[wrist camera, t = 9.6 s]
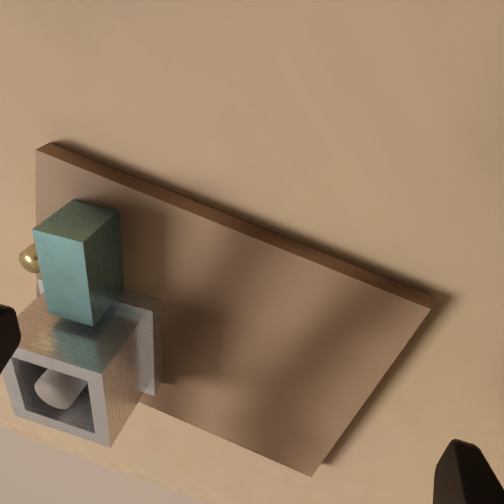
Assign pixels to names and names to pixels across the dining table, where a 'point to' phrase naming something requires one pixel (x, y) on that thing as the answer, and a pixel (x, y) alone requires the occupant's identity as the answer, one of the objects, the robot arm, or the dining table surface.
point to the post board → (240, 316)
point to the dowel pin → (30, 259)
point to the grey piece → (85, 327)
